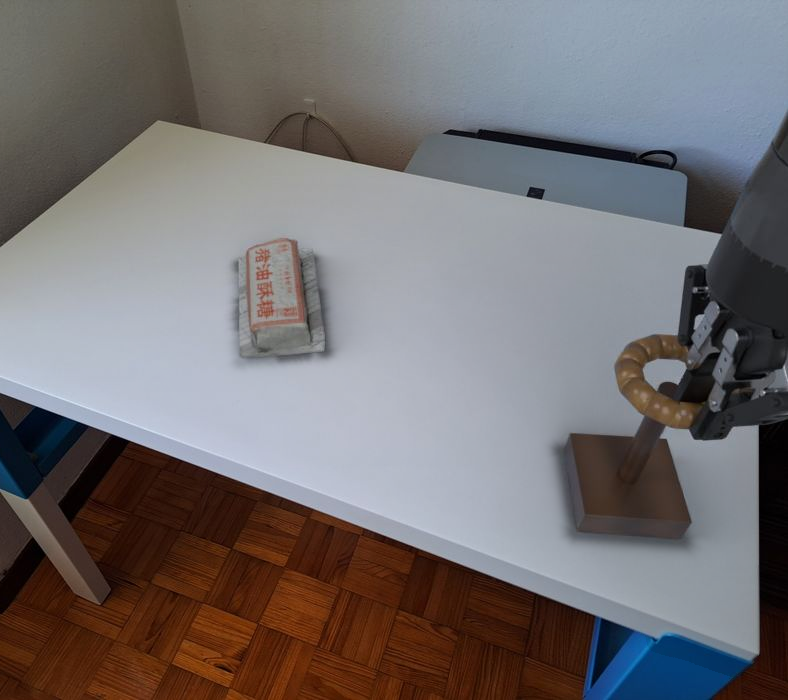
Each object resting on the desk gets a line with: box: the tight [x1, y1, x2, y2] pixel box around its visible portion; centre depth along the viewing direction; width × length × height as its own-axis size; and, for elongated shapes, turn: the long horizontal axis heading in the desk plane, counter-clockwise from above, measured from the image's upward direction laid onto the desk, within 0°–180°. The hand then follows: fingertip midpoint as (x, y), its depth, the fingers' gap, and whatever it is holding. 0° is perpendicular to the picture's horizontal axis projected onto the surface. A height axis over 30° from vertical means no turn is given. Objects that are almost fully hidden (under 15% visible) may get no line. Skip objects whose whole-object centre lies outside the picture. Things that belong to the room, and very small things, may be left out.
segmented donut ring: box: [613, 333, 740, 431], centre depth 53 cm, size 9×9×2 cm
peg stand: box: [563, 381, 693, 540], centre depth 59 cm, size 9×9×15 cm
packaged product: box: [238, 237, 326, 359], centre depth 83 cm, size 18×5×10 cm
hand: (695, 419), depth 51 cm, fingers closed on segmented donut ring, 2 cm apart
